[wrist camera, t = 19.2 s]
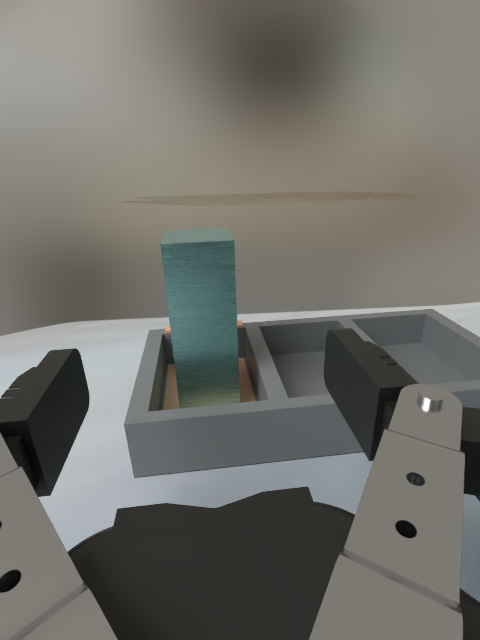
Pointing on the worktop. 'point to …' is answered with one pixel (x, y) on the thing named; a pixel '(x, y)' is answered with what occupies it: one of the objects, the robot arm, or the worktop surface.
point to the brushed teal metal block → (202, 314)
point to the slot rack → (284, 391)
